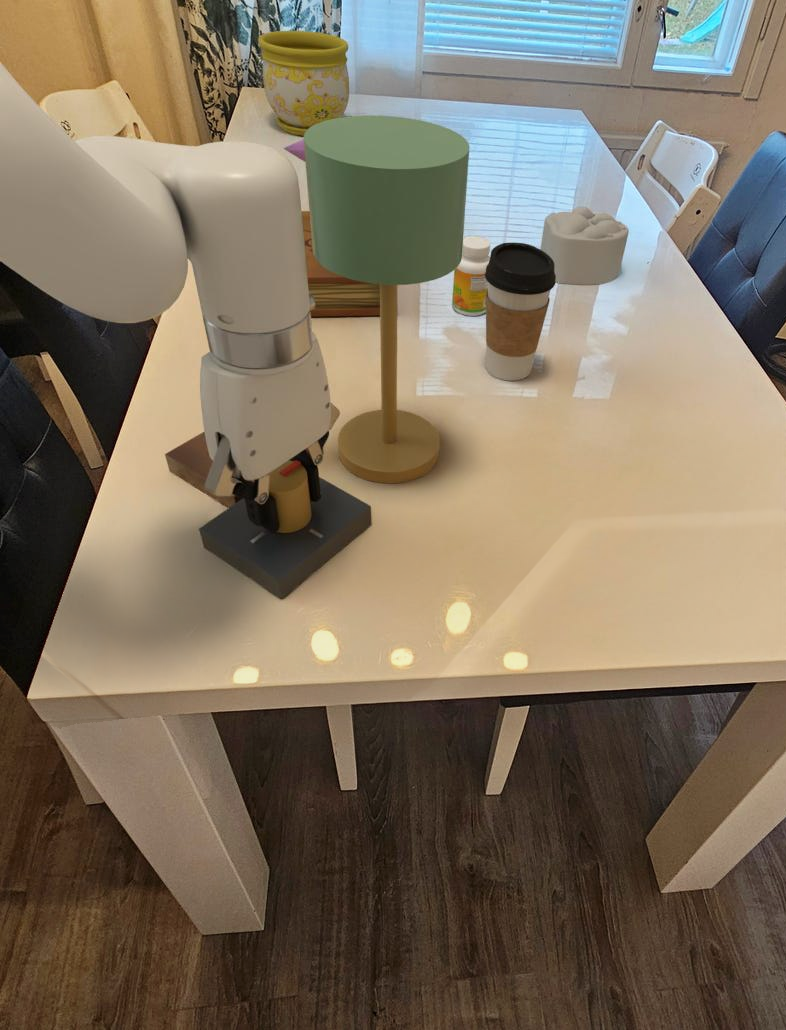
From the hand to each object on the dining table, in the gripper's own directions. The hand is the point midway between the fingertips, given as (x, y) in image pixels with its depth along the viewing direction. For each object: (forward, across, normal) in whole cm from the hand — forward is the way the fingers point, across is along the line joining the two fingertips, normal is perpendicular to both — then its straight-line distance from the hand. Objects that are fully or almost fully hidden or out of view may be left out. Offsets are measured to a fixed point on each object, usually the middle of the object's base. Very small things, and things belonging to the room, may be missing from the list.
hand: (286, 507), depth 65 cm
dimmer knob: (+1, 0, 0) cm, 1 cm away
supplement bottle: (+4, -49, -13) cm, 51 cm away
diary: (+4, -41, -34) cm, 53 cm away
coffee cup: (+4, -39, 0) cm, 39 cm away
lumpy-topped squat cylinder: (+4, -72, -7) cm, 72 cm away
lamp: (+4, -16, -1) cm, 16 cm away
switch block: (+4, -5, -11) cm, 13 cm away
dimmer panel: (+4, 0, 0) cm, 4 cm away
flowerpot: (+4, -92, -86) cm, 126 cm away
